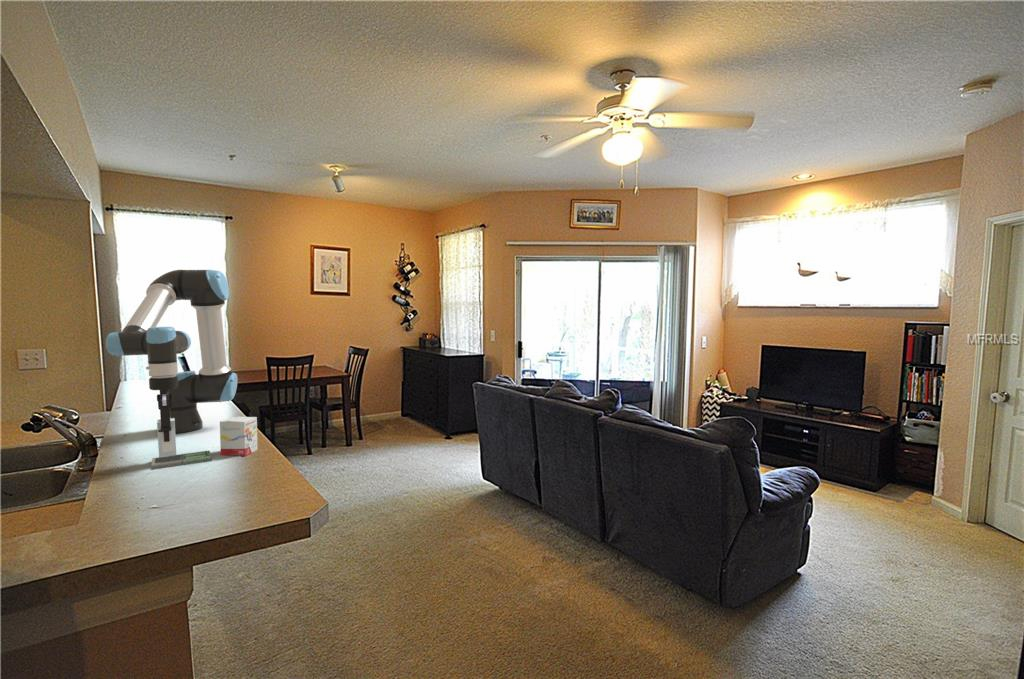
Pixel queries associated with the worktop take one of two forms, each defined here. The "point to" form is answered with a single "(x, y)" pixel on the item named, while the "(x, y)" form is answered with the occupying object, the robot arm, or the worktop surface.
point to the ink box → (238, 436)
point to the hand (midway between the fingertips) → (167, 449)
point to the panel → (181, 460)
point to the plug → (172, 453)
